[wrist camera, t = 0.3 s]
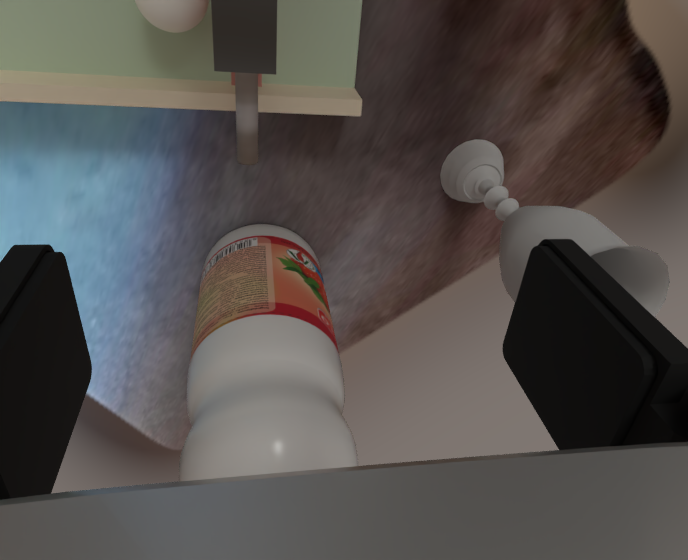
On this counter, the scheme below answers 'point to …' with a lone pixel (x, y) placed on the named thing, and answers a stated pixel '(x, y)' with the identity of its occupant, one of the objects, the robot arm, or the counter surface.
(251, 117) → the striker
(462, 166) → the chalice
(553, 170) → the counter surface
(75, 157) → the counter surface
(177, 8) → the ball
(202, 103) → the cream long tray
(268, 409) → the fruit juice
